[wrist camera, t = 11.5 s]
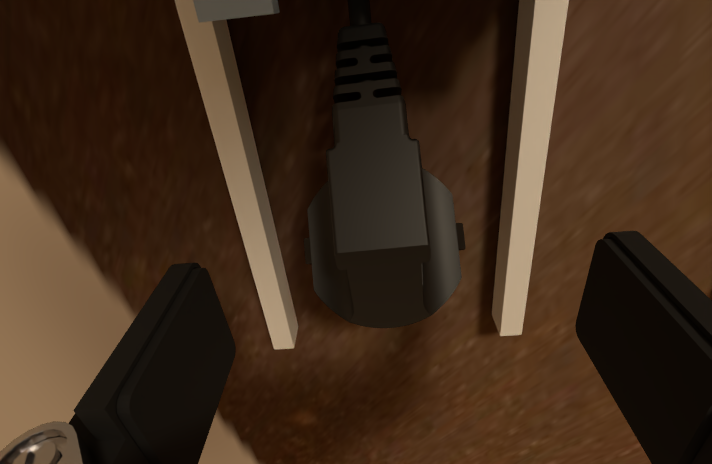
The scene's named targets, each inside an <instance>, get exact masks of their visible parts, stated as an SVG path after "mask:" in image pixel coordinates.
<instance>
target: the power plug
mask: <svg viewBox="0 0 712 464" xmlns="http://www.w3.org/2000/svg"><path fill="white" fill-rule="evenodd" d="M348 6H349V17H350V26H348V27H343V28H341V29H340V30H339V32H338V39H337V50H338V53H337V54H336V67H337V69H336V70H335V80H334V81H335V85H336V87H334V93H333V99H334V102H335V104H333V107H332V119H333V131H334V143H335V144H334V147H333V148H332V149H328V150H327V151H326V159H327V171H328V181H327V182H326V183H325V184H324V185H323V187H322V188H321V189H320V190H319V192H318V193H317V194H316V196H315V197H314V199H313V200H312V202H311V204H310V206H309V208H308V223H309V235H310V237H309V238H305V239H304V248H305V260H306V264H312V273H313V285H314V291H315V292H316V294H317V295H318V296H319V298H320V299H321V300H322V301H323V302H324V303H325V304H326V305H327V306H328V307H329V308H330V309H331V310H333V311H334V312H335V313H336V314H338V315H339V316H340V317H342V318H343V319H345V320H347V321H348V322H350V323H354V324H357V325H361V326H366V327H373V328H394V327H401V326H406V325H410V324H413V323H416V322H418V321H421V320H423V319H425V318H427V317H429V316H431V315H432V314H434V313H435V312H436V311H437V310H438V309H439V308H440V307H441V306H442V305H443V304H444V303H445V302H446V301H447V300H448V299H449V297H450V296H451V295H452V293H453V292H454V290H455V289H456V287H457V285H458V284H459V282H460V280H461V278H462V276H461V267H460V259H459V250H464V249H465V240H464V231H463V224H462V223H455V214H454V206H453V197H452V194H451V192H450V191H449V190H448V189H447V188H446V187H445V186H444V185H443V184H442V183H441V182H440V181H439V180H438V179H437V178H436V177H434V176H433V175H432V174H430V173H429V172H428V171H426V170H425V169H423V168H422V165H421V155H420V146H419V141H418V140H417V139H411V138H410V137H409V133H408V123H407V114H406V104H405V101H404V97H403V96H401V86H400V82H399V80H398V79H397V71H396V67H395V64H394V63H393V62H392V53H391V49H390V47H389V45H388V38H387V34H386V31H385V27H384V26H383V24H382V23H379V22H377V23H371V15H370V5H369V0H348Z"/></svg>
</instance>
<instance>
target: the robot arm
mask: <svg viewBox="0 0 712 464" xmlns="http://www.w3.org/2000/svg"><path fill="white" fill-rule="evenodd" d="M576 333H577V336H578V338H579V340H580V342H581V343H582V345H583V347H584V349H585V350H586V352H587V354H588V355H589V357H590V359H591V361H592V362H593V364H594V366H595V367H596V369H597V371H598V372H599V374H600V376H601V378H602V379H603V381H604V383H605V384H606V386H607V388H608V390H609V391H610V393H611V395H612V396H613V398H614V400H615V401H616V403H617V405H618V407H619V408H620V410H621V412H622V413H623V415H624V417H625V419H626V420H627V422H628V424H629V425H630V427H631V429H632V430H633V432H634V434H635V436H636V437H637V439H638V441H639V442H640V444H641V446H642V448H643V449H644V451H645V453H646V454H647V456H648V458H649V459H650V461H651V463H652V464H712V300H711V299H710V298H708V297H707V296H706V295H705V294H704V293H703V292H702V291H701V290H700V289H699V288H698V287H697V286H696V285H695V284H694V283H692V282H691V281H690V280H689V279H688V278H687V277H686V276H685V275H684V274H683V273H682V272H681V271H680V270H679V269H678V268H677V267H675V266H674V265H673V264H672V263H671V262H670V261H669V260H668V259H667V258H666V257H665V256H664V255H663V254H662V253H661V252H660V251H658V250H657V249H656V248H655V247H654V246H653V245H652V244H651V243H650V242H649V241H648V240H647V239H646V238H645V237H644V236H642V235H641V234H640V233H639V232H637V231H623V232H610V233H607V234H606V235H605V236H604V238H603V239H600V240H598V241H597V243H596V245H595V249H594V253H593V257H592V261H591V265H590V269H589V273H588V277H587V281H586V285H585V289H584V293H583V296H582V300H581V304H580V308H579V312H578V316H577V320H576ZM234 357H235V342H234V340H233V337H232V334H231V332H230V329H229V326H228V324H227V321H226V318H225V316H224V313H223V310H222V307H221V305H220V302H219V299H218V297H217V294H216V291H215V289H214V286H213V283H212V281H211V278H210V275H209V273H208V271H207V269H206V268H201V267H200V265H199V264H198V263H185V264H174V265H172V266H171V267H170V268H169V269H168V271H167V272H166V274H165V275H164V277H163V278H162V280H161V281H160V283H159V284H158V286H157V287H156V288H155V290H154V291H153V293H152V294H151V296H150V297H149V299H148V300H147V302H146V303H145V305H144V306H143V308H142V309H141V311H140V312H139V314H138V315H137V317H136V318H135V320H134V321H133V323H132V324H131V326H130V327H129V329H128V331H127V332H126V333H125V335H124V336H123V338H122V339H121V341H120V342H119V344H118V345H117V347H116V348H115V350H114V351H113V353H112V354H111V356H110V357H109V358H108V360H107V361H106V363H105V364H104V366H103V367H102V369H101V370H100V372H99V373H98V375H97V376H96V378H95V379H94V381H93V383H92V384H91V385H90V387H89V388H88V390H87V391H86V393H85V394H84V396H83V397H82V399H81V400H80V402H79V403H78V405H77V406H76V408H75V409H74V412H75V415H74V416H73V418H72V419H71V421H70V422H69V424H68V423H66V422H51V423H46V424H42V425H40V426H37V427H35V428H33V429H31V430H29V431H27V432H25V433H24V434H22V435H21V436H19V437H17V438H16V439H14V440H13V441H12V442H11V443H10V444H8V445H7V446H6V447H5V448H4V449H3V450H2V451H0V464H198V462H199V459H200V456H201V453H202V450H203V447H204V444H205V442H206V439H207V436H208V433H209V430H210V427H211V424H212V421H213V418H214V415H215V413H216V410H217V407H218V404H219V401H220V398H221V395H222V392H223V389H224V386H225V383H226V381H227V378H228V375H229V372H230V369H231V366H232V363H233V360H234Z"/></svg>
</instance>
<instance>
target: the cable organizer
mask: <svg viewBox="0 0 712 464" xmlns="http://www.w3.org/2000/svg"><path fill="white" fill-rule="evenodd" d="M174 1H175V4H176V8H177V11H178V15H179V18H180V22H181V25H182V29H183V32H184V36H185V39H186V43H187V46H188V50H189V53H190V57H191V60H192V64H193V67H194V71H195V74H196V78H197V81H198V85H199V88H200V92H201V95H202V99H203V102H204V106H205V109H206V113H207V116H208V120H209V123H210V127H211V130H212V134H213V137H214V141H215V144H216V148H217V151H218V155H219V158H220V162H221V165H222V169H223V172H224V176H225V179H226V183H227V186H228V190H229V193H230V197H231V200H232V204H233V207H234V211H235V214H236V218H237V221H238V225H239V228H240V232H241V235H242V239H243V242H244V246H245V249H246V253H247V256H248V260H249V263H250V267H251V270H252V274H253V277H254V281H255V284H256V288H257V291H258V295H259V298H260V302H261V305H262V309H263V312H264V316H265V319H266V323H267V326H268V330H269V333H270V337H271V340H272V344H273V347H274V349H290V348H294V346H295V341H296V336H297V331H298V323H297V319H296V315H295V311H294V306H293V302H292V298H291V294H290V289H289V285H288V281H287V276H286V272H285V268H284V264H283V259H282V255H281V251H280V247H279V242H278V238H277V234H276V230H275V225H274V221H273V217H272V212H271V208H270V204H269V200H268V195H267V191H266V187H265V183H264V178H263V174H262V170H261V166H260V161H259V157H258V153H257V149H256V144H255V140H254V136H253V131H252V127H251V123H250V119H249V114H248V110H247V106H246V102H245V97H244V93H243V89H242V85H241V80H240V76H239V72H238V67H237V63H236V59H235V55H234V50H233V46H232V42H231V38H230V33H229V29H228V25H227V21H226V19H234V18H242V17H251V16H259V15H268V14H275V13H280V11H279V6H278V0H174ZM568 2H569V0H519V8H518V20H517V31H516V42H515V54H514V65H513V77H512V88H511V99H510V111H509V122H508V134H507V145H506V157H505V168H504V179H503V191H502V202H501V214H500V225H499V236H498V248H497V259H496V271H495V282H494V294H493V305H492V317H493V319H494V322H495V324H496V327H497V329H498V332H499V335H500V336H509V335H522V328H523V321H524V313H525V306H526V299H527V292H528V285H529V278H530V271H531V264H532V257H533V250H534V243H535V236H536V228H537V221H538V214H539V207H540V200H541V193H542V186H543V179H544V172H545V165H546V158H547V151H548V144H549V136H550V129H551V122H552V115H553V108H554V101H555V94H556V87H557V80H558V73H559V66H560V59H561V51H562V44H563V37H564V30H565V23H566V16H567V9H568Z"/></svg>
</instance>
